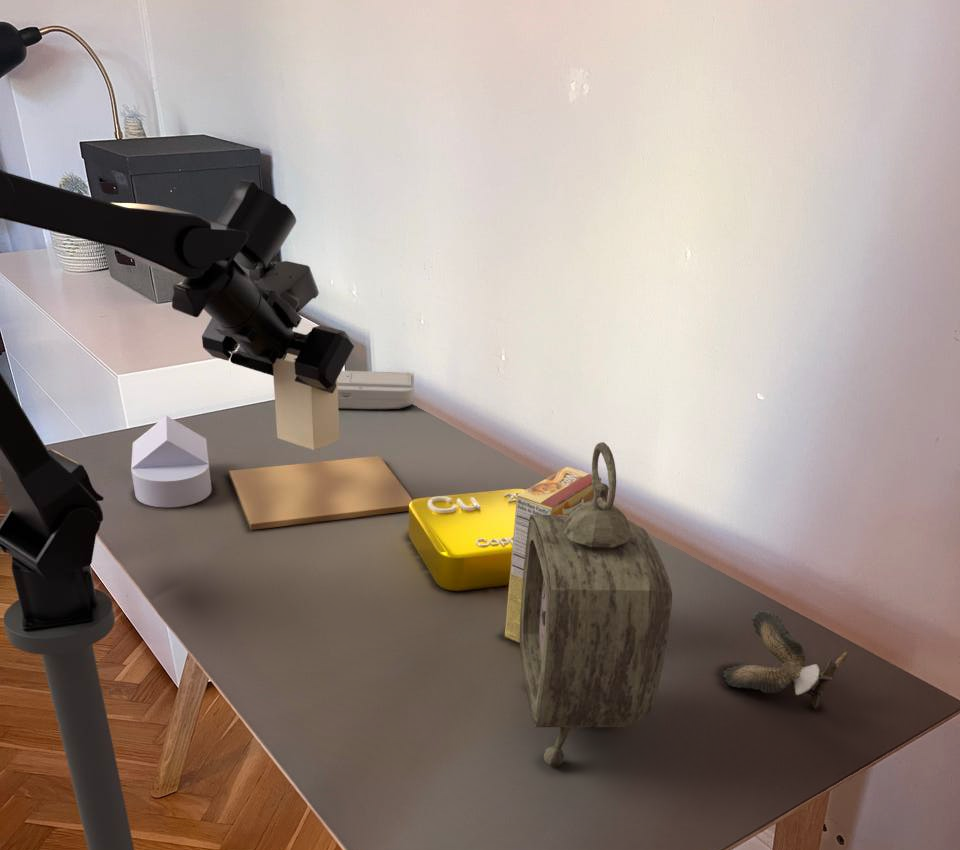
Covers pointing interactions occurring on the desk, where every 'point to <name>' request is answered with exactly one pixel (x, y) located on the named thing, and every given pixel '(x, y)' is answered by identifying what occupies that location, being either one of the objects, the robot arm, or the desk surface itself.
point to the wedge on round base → (170, 466)
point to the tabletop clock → (592, 616)
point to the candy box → (541, 499)
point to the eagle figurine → (791, 659)
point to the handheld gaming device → (375, 390)
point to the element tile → (465, 537)
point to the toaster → (303, 409)
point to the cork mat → (318, 492)
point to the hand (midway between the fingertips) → (313, 383)
